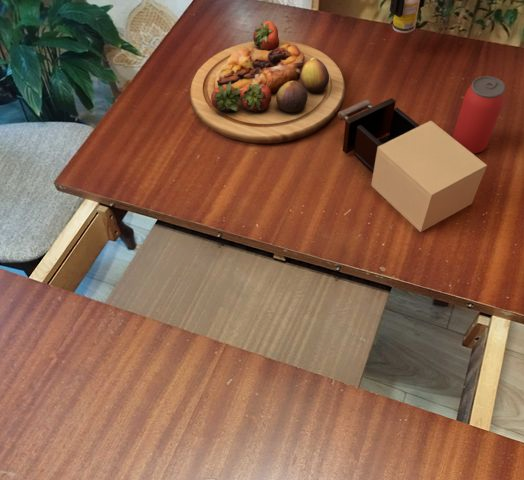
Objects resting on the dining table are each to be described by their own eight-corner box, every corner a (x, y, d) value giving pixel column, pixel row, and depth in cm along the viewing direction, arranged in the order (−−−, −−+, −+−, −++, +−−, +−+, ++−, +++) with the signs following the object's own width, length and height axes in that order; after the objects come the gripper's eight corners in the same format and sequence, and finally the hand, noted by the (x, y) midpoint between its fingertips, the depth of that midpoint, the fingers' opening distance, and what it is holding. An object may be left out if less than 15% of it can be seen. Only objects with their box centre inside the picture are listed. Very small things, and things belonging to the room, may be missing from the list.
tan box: (371, 185, 98) (377, 146, 91) (420, 160, 101) (430, 120, 94) (420, 232, 92) (431, 194, 85) (471, 203, 95) (487, 165, 88)
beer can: (494, 146, 102) (517, 87, 92) (468, 160, 100) (489, 103, 90) (468, 127, 105) (488, 69, 94) (443, 141, 103) (460, 83, 93)
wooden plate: (218, 41, 123) (214, 3, 116) (357, 58, 118) (362, 19, 110) (169, 133, 108) (160, 96, 101) (325, 157, 102) (328, 119, 95)
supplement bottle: (399, 19, 115) (405, -25, 108) (419, 25, 113) (427, -19, 106) (388, 30, 113) (393, -14, 106) (408, 36, 112) (415, -8, 104)
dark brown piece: (328, 137, 104) (330, 105, 98) (371, 116, 106) (375, 84, 101) (384, 189, 96) (390, 159, 91) (429, 166, 99) (438, 135, 93)
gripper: (399, -78, 91) (385, 32, 107) (475, -108, 95) (451, 2, 110) (371, -93, 94) (361, 15, 110) (446, -121, 98) (426, -12, 114)
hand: (406, 8), depth 110 cm, fingers closed on supplement bottle, 4 cm apart
